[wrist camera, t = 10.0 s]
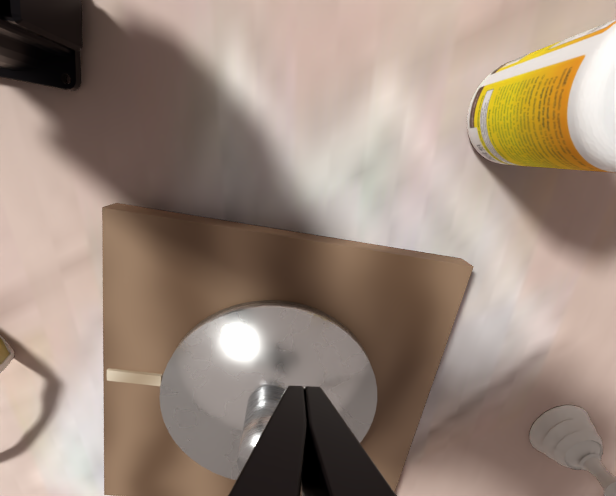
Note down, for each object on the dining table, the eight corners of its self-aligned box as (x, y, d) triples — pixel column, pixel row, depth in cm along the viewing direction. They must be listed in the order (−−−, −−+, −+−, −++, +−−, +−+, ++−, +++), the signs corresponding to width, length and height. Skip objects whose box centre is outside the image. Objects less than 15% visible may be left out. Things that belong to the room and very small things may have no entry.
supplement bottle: (500, 183, 20) (699, 217, 10) (442, 118, 19) (608, 85, 9) (574, 111, 19) (876, 73, 9) (519, 37, 18) (803, -100, 8)
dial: (163, 291, 19) (121, 338, 14) (391, 309, 20) (421, 359, 15) (167, 496, 24) (137, 582, 19) (350, 502, 25) (363, 585, 20)
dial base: (114, 475, 25) (103, 497, 24) (116, 202, 19) (100, 208, 18) (381, 496, 28) (386, 518, 26) (461, 258, 21) (475, 267, 20)
